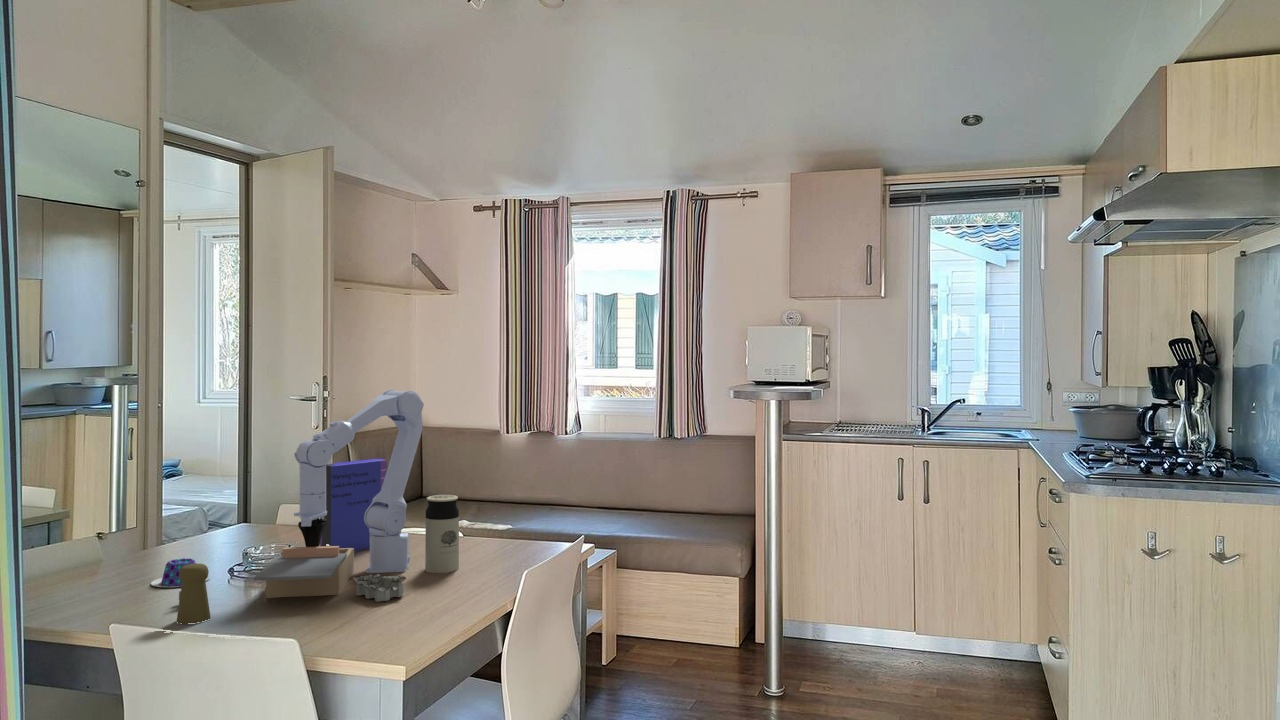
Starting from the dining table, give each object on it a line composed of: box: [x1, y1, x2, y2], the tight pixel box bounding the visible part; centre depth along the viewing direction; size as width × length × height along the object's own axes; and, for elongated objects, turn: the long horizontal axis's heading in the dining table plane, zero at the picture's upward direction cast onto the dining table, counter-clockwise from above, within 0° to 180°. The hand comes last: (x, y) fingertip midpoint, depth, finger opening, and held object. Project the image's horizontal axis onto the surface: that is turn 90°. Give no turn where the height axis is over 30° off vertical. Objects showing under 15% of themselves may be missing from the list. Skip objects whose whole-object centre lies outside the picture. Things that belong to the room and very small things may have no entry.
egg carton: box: [352, 573, 407, 603], centre depth 186 cm, size 11×8×4 cm
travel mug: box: [424, 494, 460, 574], centre depth 209 cm, size 8×8×18 cm
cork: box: [176, 562, 211, 624], centre depth 169 cm, size 6×6×11 cm
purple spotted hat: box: [150, 557, 211, 589], centre depth 198 cm, size 12×12×5 cm
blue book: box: [319, 458, 387, 552], centre depth 231 cm, size 17×5×24 cm, turn 144°
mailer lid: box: [253, 546, 347, 582], centre depth 186 cm, size 15×20×3 cm
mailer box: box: [265, 548, 355, 599], centre depth 196 cm, size 15×20×6 cm
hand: (312, 552), depth 196 cm, fingers closed
